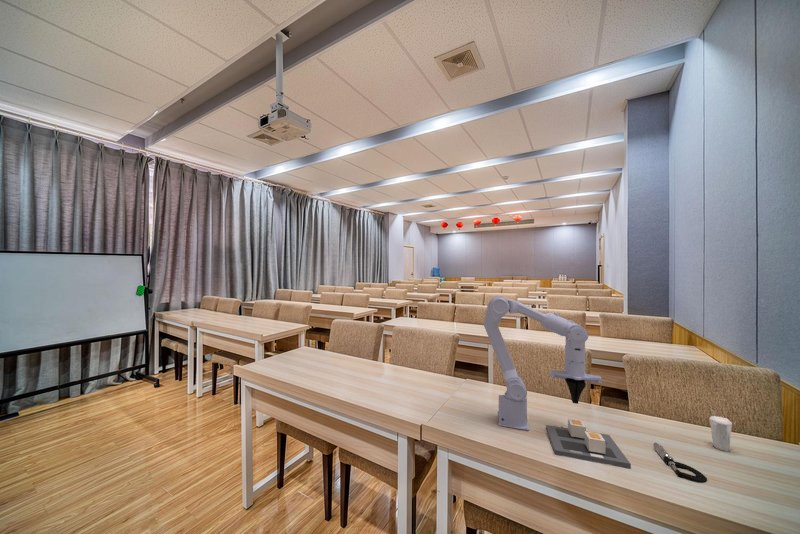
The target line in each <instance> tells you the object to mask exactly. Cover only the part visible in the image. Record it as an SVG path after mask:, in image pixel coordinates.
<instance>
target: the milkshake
mask: <svg viewBox="0 0 800 534" xmlns="http://www.w3.org/2000/svg"><path fill="white" fill-rule="evenodd" d="M711 412H712V415H711V416H710V417H709V424H710V431H711V440H712V446H713V447H714V448H715V449H717V450H720V451H723V452H729V451H730V448H731V447H730V445H731V435H732V429H733V428H732V427H733V423H732V421H730V419H728V418H726V417H722V416H716V412H715V410H714V409H711Z"/></svg>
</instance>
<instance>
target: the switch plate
mask: <svg viewBox="0 0 800 534" xmlns="http://www.w3.org/2000/svg"><path fill="white" fill-rule="evenodd" d="M545 429H546V433H547V436H548V438H549V441H550V444H551V447H552V450H553V453H554V455H557V456H561V457H568V458H572V459H578V460H583V461H588V462H593V463H599V464H603V465H604V464H605V465H611V466H615V467H620V468H626V469H631V468H632V467H631V466H632V465H631V462H630V461H629V460H628V458H627V457H626V456H625V454H624V453H623V452H622V450H621V449H620V447H619V446H618V445H617V444H616V441H614V439H613V438H612V437H611V435H610V434H608V433H600V432H597V433H598V434H601V436H602V437H603V438H604V440H605V452H606V454H602V453H597V452H591V451H589V450H588V449H587V447H586V445H585V439H584V438H578V437H572V436H571V435H570V433H569V431H568V427H563V426H556V425H550V424H545ZM586 432H589V431H587V430H586ZM591 432H592V433H596V431H595V432H594V431H591Z"/></svg>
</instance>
